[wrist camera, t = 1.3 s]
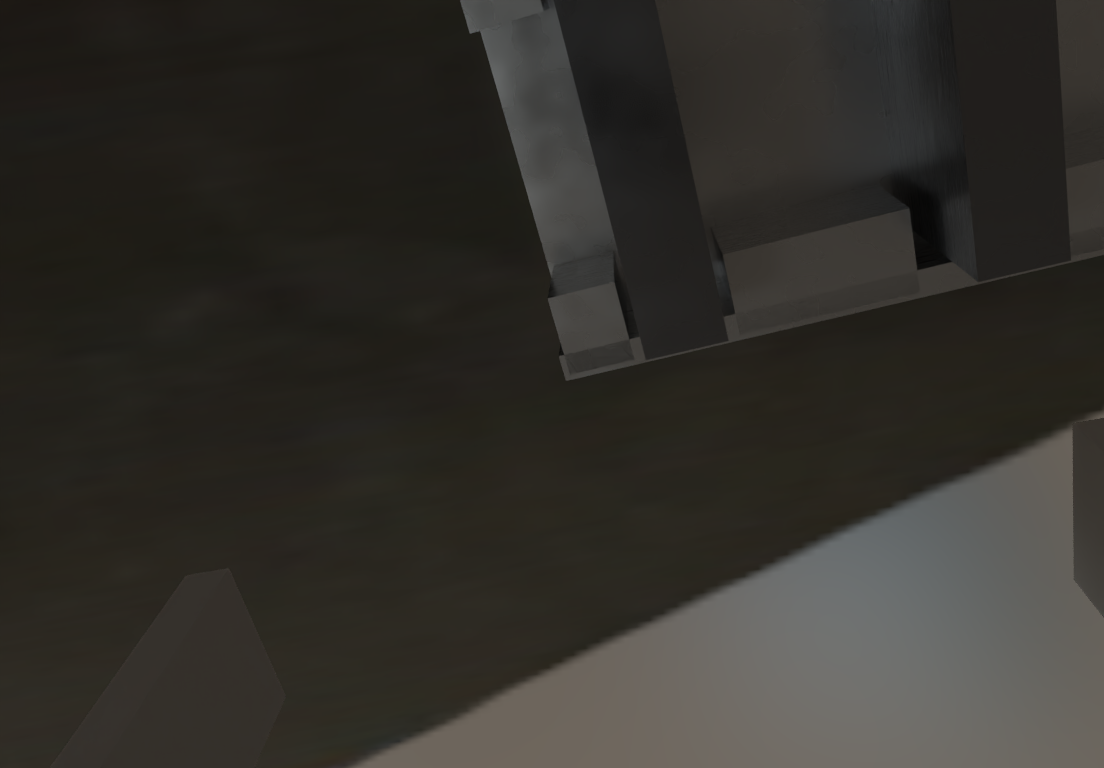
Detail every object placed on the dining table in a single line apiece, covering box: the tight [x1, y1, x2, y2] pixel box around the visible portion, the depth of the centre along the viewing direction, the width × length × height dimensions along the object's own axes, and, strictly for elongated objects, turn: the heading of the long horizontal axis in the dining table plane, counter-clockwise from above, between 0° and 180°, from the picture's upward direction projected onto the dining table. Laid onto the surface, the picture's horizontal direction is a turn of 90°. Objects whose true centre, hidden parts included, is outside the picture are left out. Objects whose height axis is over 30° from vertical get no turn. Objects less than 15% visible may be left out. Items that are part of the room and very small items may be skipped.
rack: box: [460, 0, 1104, 381], centre depth 28 cm, size 29×16×9 cm, turn 106°
